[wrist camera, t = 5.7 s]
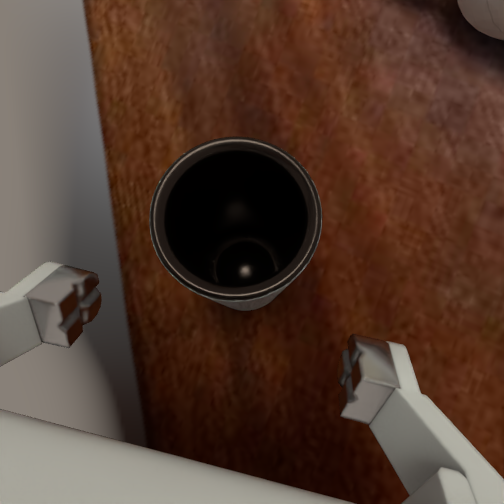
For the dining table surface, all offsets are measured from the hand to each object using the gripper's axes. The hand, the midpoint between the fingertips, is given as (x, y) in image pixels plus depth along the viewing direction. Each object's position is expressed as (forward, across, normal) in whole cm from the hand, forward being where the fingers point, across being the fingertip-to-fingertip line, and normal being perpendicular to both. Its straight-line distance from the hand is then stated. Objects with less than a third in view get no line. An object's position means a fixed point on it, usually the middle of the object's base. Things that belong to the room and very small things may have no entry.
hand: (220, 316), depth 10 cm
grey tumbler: (+8, 0, +4) cm, 8 cm away
